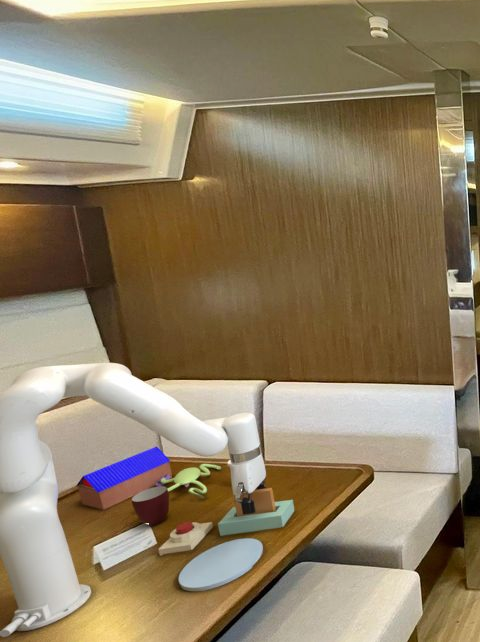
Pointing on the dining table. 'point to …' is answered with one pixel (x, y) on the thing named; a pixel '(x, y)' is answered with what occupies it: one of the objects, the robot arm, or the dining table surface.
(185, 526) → the stop button
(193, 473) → the figurine
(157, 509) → the mug
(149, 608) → the dining table surface
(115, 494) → the house
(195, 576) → the plate
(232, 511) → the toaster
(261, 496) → the copper rectangular plank
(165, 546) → the control block
